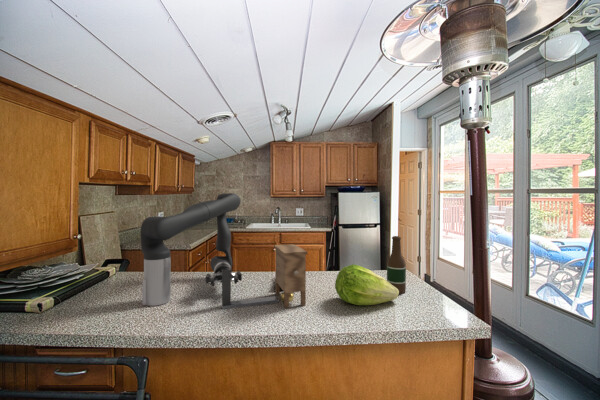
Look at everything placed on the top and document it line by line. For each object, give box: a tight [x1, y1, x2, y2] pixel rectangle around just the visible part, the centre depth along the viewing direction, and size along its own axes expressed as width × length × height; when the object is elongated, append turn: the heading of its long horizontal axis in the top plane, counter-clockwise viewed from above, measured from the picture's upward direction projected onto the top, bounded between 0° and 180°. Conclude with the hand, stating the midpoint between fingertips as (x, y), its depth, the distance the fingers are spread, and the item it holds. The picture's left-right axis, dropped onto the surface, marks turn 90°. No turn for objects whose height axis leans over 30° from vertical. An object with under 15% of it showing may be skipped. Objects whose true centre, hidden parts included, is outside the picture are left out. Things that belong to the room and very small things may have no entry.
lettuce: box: [334, 264, 400, 306], centre depth 107 cm, size 15×24×16 cm
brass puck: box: [280, 291, 294, 303], centre depth 109 cm, size 5×5×2 cm
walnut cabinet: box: [273, 243, 308, 309], centre depth 109 cm, size 9×18×20 cm, turn 18°
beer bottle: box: [386, 235, 407, 295], centre depth 119 cm, size 8×8×24 cm
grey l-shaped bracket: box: [221, 268, 279, 310], centre depth 105 cm, size 21×4×14 cm, turn 108°
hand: (224, 282), depth 107 cm, fingers open, 8 cm apart
